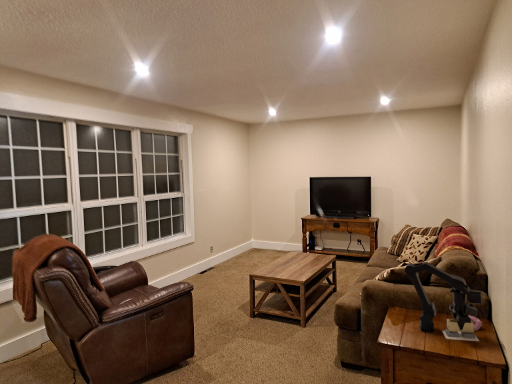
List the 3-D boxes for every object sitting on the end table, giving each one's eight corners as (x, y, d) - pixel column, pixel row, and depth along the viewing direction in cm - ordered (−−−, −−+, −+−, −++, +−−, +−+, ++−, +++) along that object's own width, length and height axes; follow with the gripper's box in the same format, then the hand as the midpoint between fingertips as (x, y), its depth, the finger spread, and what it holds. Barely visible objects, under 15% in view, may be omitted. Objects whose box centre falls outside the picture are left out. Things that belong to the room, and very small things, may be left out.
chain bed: (446, 338, 190) (446, 327, 190) (442, 331, 199) (441, 320, 198) (479, 341, 186) (479, 329, 185) (473, 333, 195) (473, 322, 194)
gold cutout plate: (470, 328, 193) (470, 320, 192) (473, 332, 188) (473, 323, 188) (446, 327, 196) (446, 318, 195) (449, 330, 192) (449, 322, 191)
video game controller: (480, 332, 198) (484, 321, 198) (475, 330, 196) (479, 319, 197) (465, 325, 207) (469, 314, 207) (460, 323, 206) (464, 312, 206)
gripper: (482, 308, 180) (482, 337, 181) (470, 295, 198) (470, 321, 199) (458, 307, 183) (458, 335, 184) (448, 294, 201) (448, 320, 202)
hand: (459, 328), depth 192 cm, fingers closed on gold cutout plate, 4 cm apart
